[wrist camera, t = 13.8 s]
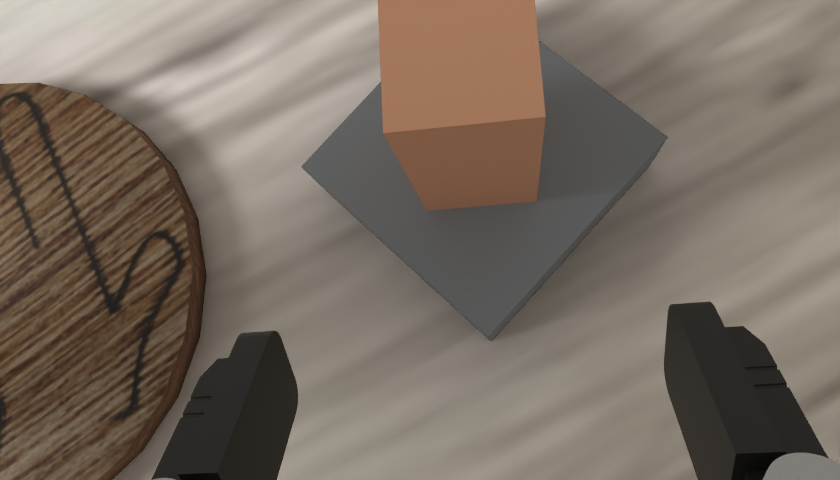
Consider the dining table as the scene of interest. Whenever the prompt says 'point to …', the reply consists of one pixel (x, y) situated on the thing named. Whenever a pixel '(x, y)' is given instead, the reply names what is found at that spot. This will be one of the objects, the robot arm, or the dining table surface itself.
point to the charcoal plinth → (496, 224)
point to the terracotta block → (463, 99)
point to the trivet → (89, 286)
